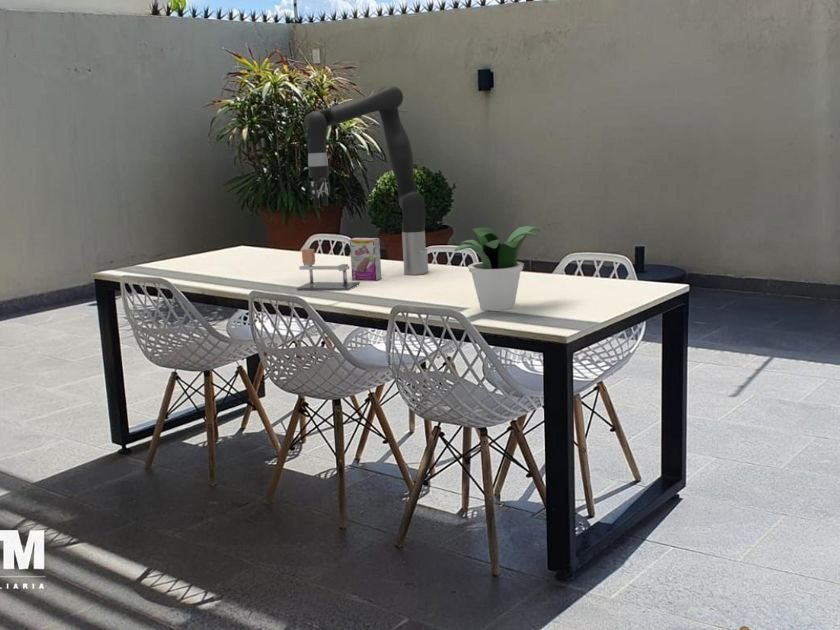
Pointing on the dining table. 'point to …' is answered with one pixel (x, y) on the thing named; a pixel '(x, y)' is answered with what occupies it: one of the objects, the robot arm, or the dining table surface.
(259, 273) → the dining table surface
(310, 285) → the bolt plate
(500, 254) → the potted plant
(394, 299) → the dining table surface
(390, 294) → the dining table surface
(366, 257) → the candy bar box
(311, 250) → the block
